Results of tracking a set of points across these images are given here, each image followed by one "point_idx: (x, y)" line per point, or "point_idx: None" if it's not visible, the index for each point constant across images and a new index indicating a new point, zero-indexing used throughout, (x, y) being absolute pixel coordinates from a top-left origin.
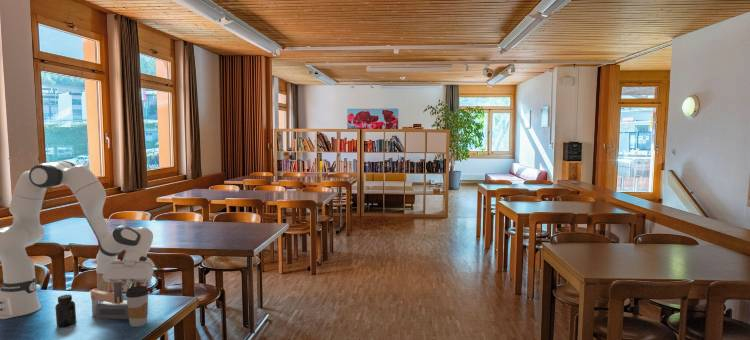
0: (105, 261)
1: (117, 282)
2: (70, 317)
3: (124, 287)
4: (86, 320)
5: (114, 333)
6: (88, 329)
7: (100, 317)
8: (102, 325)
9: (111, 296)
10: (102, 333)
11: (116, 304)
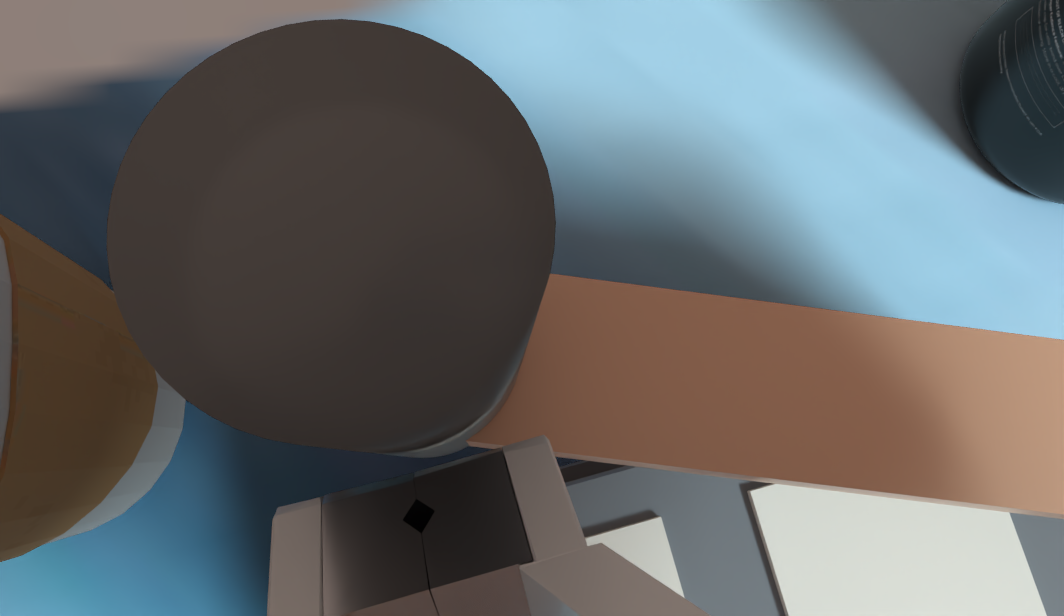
0: None
1: (426, 294)
2: (1033, 11)
3: (284, 565)
4: (950, 291)
5: (180, 57)
6: (635, 64)
7: None
8: (569, 217)
9: (603, 284)
10: (342, 17)
11: (631, 510)
